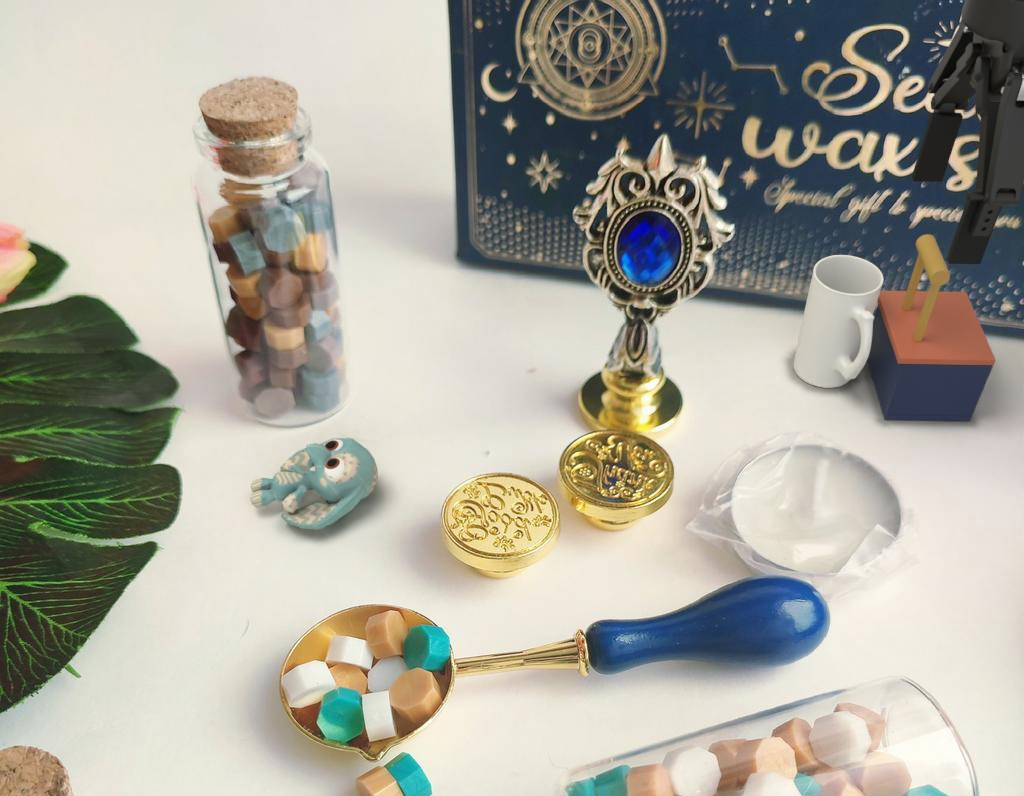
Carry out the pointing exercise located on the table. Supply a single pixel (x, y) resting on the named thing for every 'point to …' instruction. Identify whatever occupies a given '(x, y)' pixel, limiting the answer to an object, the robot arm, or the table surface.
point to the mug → (837, 321)
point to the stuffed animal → (320, 482)
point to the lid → (933, 317)
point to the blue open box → (922, 384)
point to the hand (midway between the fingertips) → (944, 219)
